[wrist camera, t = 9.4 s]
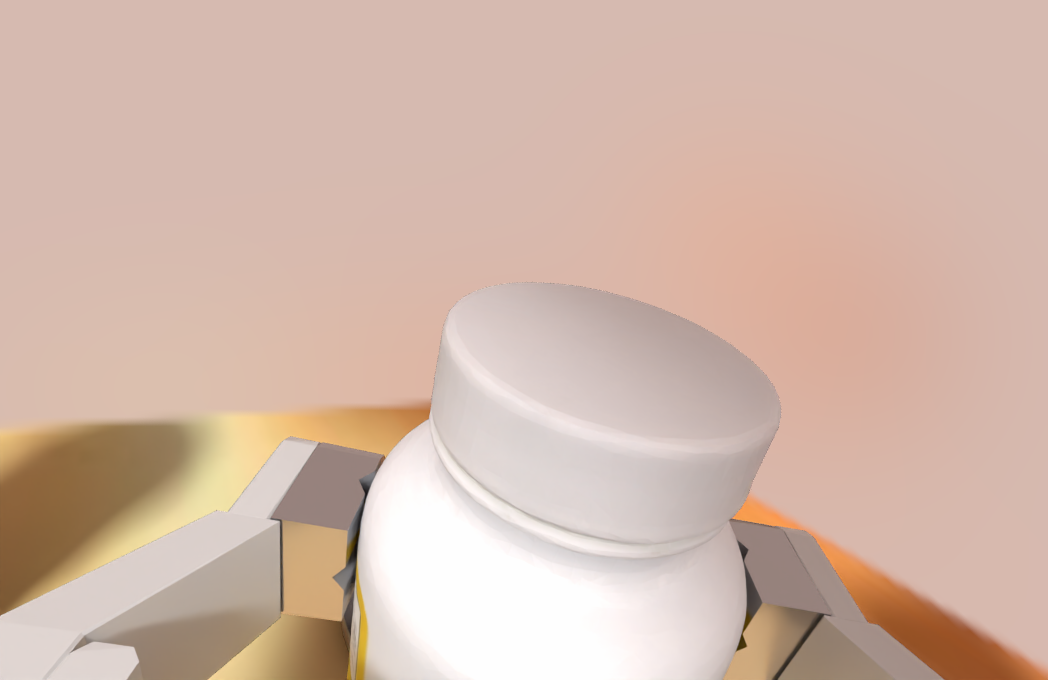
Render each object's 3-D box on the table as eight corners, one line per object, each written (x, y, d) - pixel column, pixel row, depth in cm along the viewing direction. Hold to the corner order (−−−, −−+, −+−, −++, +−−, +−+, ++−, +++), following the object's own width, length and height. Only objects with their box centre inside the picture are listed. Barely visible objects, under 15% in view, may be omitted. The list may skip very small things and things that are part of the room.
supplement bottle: (661, 798, 10) (920, 406, 6) (440, 1113, 7) (693, 687, 2) (498, 597, 13) (589, 254, 9) (291, 734, 10) (286, 275, 6)
